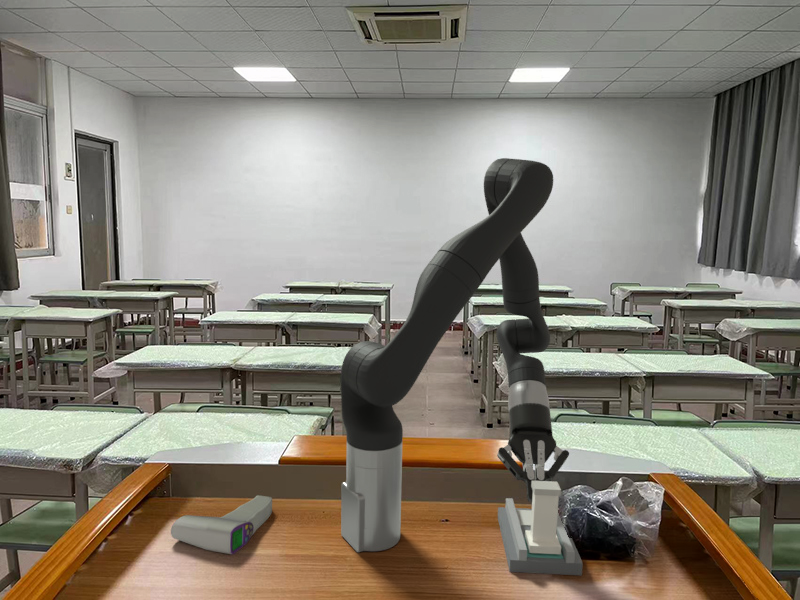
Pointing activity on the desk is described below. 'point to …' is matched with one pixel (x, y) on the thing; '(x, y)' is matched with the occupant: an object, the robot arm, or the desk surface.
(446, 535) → the desk surface
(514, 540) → the switch panel
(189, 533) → the infrared thermometer
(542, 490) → the switch tab
